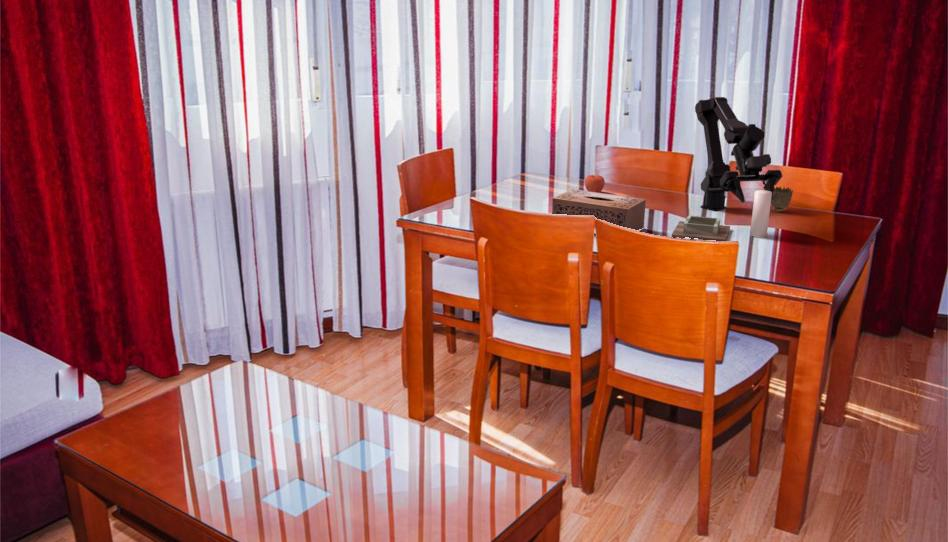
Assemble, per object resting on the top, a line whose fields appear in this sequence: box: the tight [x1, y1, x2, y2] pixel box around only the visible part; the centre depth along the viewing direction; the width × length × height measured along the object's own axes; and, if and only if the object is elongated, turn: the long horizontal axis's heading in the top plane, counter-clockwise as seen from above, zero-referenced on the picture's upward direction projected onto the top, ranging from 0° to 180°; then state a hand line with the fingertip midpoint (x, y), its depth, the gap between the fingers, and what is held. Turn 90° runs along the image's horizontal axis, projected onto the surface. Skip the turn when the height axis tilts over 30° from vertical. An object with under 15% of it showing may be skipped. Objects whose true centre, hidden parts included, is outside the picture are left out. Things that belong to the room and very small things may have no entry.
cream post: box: [749, 189, 772, 239], centre depth 261 cm, size 5×5×14 cm
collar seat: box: [671, 214, 731, 241], centre depth 264 cm, size 16×16×4 cm
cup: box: [771, 186, 794, 213], centre depth 290 cm, size 8×7×8 cm
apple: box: [584, 173, 606, 193], centre depth 314 cm, size 7×7×8 cm
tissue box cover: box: [551, 188, 646, 230], centre depth 270 cm, size 26×14×10 cm, turn 58°
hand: (757, 201), depth 263 cm, fingers open, 9 cm apart
